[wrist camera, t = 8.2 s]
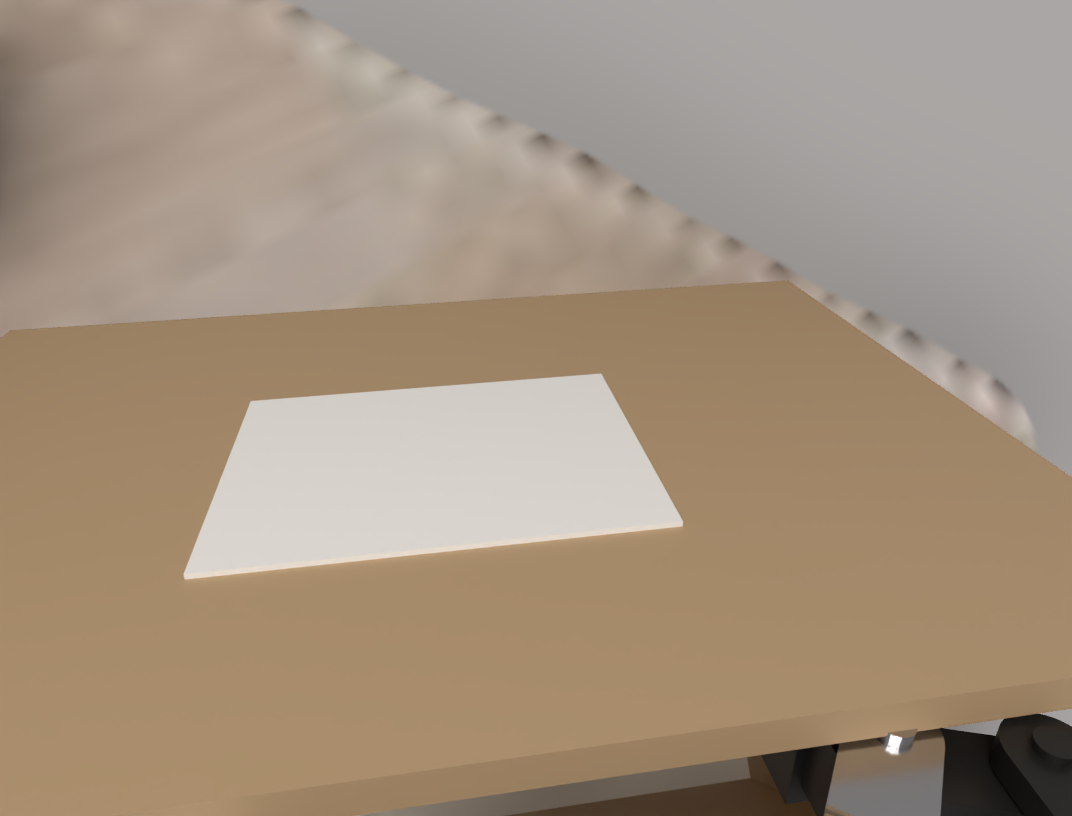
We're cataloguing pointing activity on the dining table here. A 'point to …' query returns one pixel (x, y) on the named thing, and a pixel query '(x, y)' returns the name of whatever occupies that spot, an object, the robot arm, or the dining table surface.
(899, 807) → the robot arm
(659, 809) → the mailer box
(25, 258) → the dining table surface
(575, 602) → the lid
